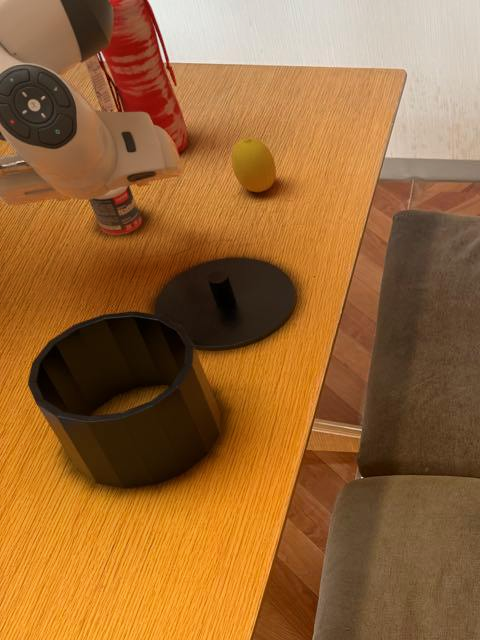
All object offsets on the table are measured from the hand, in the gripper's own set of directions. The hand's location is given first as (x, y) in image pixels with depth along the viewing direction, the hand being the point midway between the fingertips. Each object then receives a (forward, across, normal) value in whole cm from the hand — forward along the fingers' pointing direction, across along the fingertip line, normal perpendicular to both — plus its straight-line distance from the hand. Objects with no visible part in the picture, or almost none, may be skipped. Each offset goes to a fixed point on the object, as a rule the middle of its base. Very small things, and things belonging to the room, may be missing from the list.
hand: (103, 186), depth 111 cm
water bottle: (+20, +6, +9) cm, 23 cm away
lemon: (+9, +18, -2) cm, 21 cm away
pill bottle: (+8, 0, -3) cm, 8 cm away
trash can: (-20, -1, -31) cm, 37 cm away
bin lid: (-8, +10, -18) cm, 22 cm away
